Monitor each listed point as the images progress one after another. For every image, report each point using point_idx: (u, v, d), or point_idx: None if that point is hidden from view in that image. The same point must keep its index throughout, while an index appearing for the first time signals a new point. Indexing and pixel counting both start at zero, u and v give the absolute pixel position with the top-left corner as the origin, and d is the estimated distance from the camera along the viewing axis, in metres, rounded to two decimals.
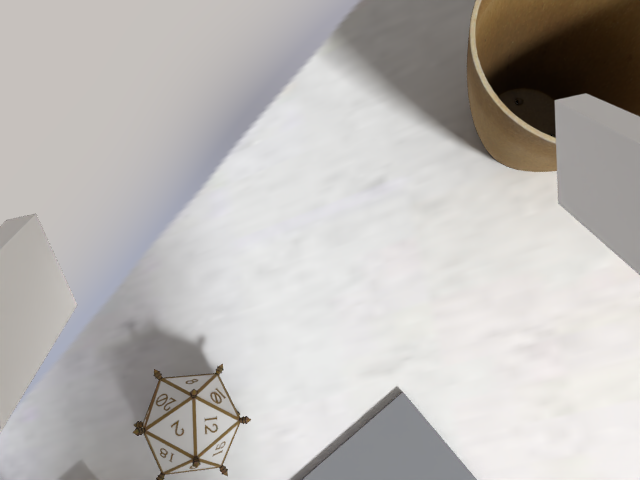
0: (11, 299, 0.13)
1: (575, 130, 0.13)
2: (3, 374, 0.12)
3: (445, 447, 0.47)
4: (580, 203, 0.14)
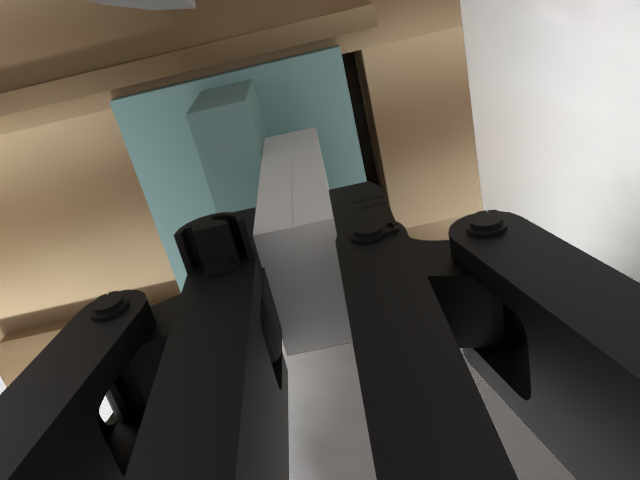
0: None
1: None
2: None
3: None
4: None
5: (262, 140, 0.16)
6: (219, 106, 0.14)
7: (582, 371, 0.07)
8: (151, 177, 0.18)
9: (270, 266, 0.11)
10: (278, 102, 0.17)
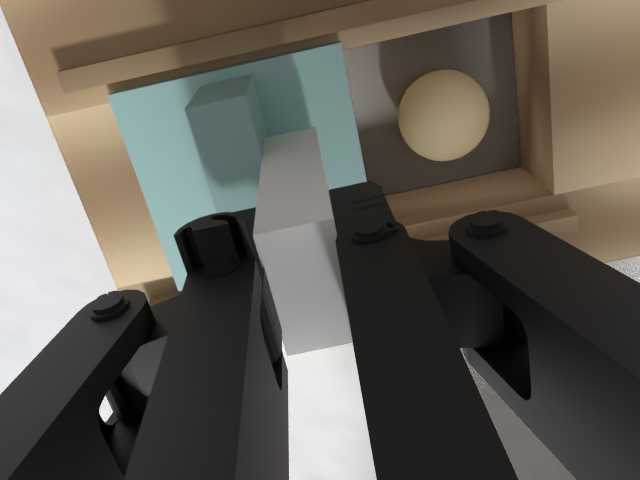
0: None
1: None
2: None
3: None
4: None
5: (261, 136, 0.16)
6: (218, 101, 0.14)
7: (582, 371, 0.07)
8: (149, 172, 0.18)
9: (270, 266, 0.11)
10: (278, 98, 0.17)
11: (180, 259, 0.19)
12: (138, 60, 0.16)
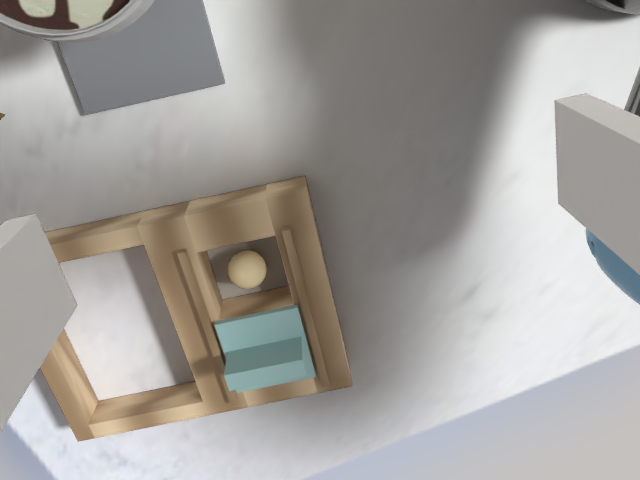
0: (11, 299, 0.13)
1: (575, 130, 0.13)
2: (3, 374, 0.12)
3: None
4: (581, 203, 0.14)
5: (243, 361, 0.45)
6: (226, 381, 0.44)
7: None
8: None
9: None
10: (235, 343, 0.47)
11: None
12: (225, 383, 0.48)
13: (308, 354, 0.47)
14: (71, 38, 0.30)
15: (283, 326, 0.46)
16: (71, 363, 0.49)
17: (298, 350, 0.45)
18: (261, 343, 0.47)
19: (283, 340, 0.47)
